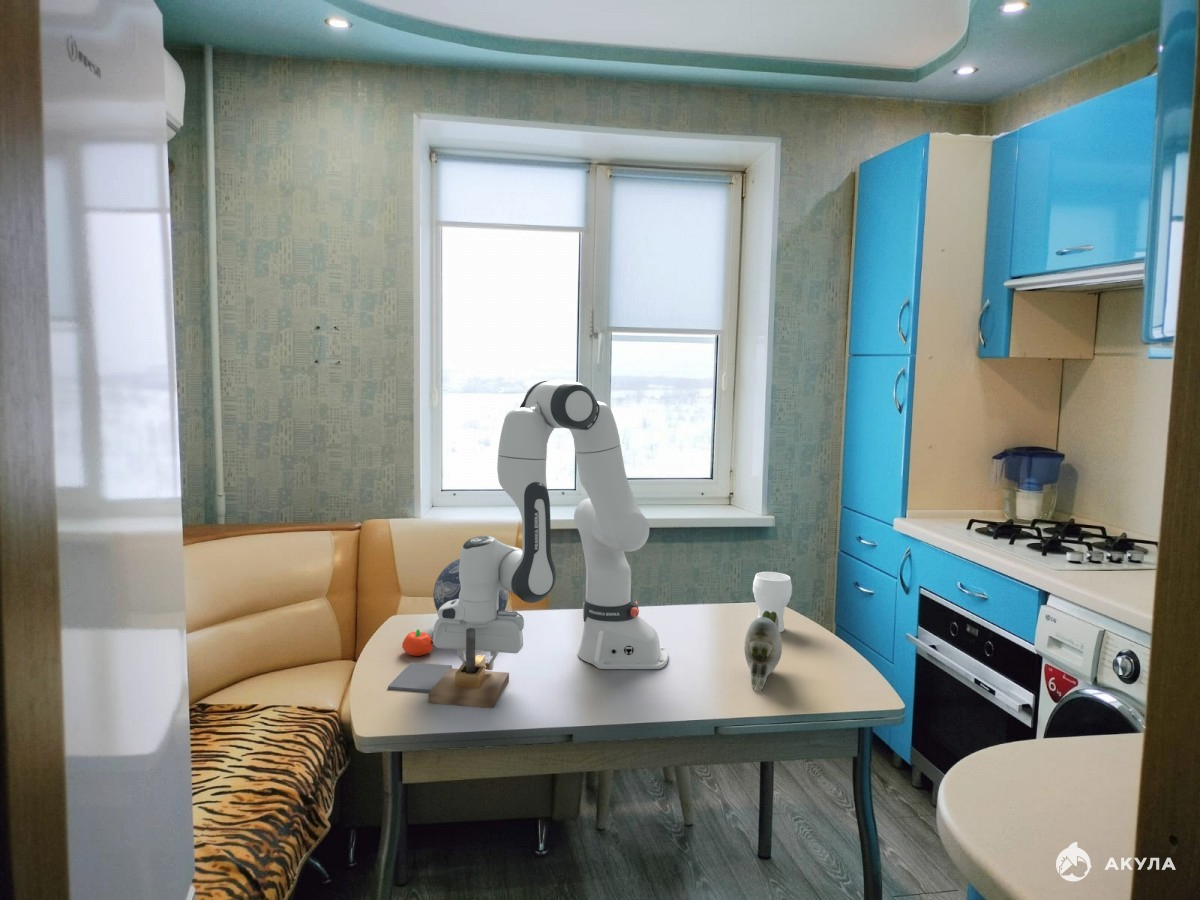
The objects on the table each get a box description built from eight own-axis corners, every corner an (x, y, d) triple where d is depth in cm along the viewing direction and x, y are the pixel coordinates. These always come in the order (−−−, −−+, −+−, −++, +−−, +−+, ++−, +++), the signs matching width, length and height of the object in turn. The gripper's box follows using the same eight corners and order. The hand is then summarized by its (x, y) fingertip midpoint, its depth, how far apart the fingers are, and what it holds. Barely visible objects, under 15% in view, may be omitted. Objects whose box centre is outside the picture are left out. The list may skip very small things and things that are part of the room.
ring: (492, 668, 177) (492, 656, 176) (478, 688, 166) (478, 675, 165) (470, 666, 177) (470, 654, 177) (455, 686, 166) (455, 673, 166)
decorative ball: (516, 621, 216) (517, 551, 214) (496, 646, 196) (497, 569, 194) (448, 615, 219) (448, 546, 217) (421, 640, 199) (422, 564, 197)
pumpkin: (421, 646, 195) (421, 621, 194) (438, 655, 189) (439, 629, 189) (396, 652, 190) (396, 627, 189) (413, 662, 184) (413, 636, 184)
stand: (508, 681, 175) (509, 621, 173) (493, 708, 161) (494, 643, 160) (449, 676, 176) (449, 617, 175) (428, 702, 163) (428, 638, 161)
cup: (793, 635, 211) (796, 582, 209) (754, 634, 211) (757, 580, 209) (784, 622, 221) (787, 571, 219) (747, 621, 221) (750, 570, 220)
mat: (451, 667, 182) (451, 665, 181) (431, 692, 168) (431, 689, 168) (411, 664, 183) (411, 662, 183) (387, 688, 169) (387, 686, 169)
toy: (776, 695, 172) (785, 660, 191) (779, 629, 170) (788, 601, 189) (738, 689, 175) (750, 655, 194) (741, 624, 173) (753, 597, 192)
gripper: (527, 607, 175) (525, 666, 176) (439, 601, 177) (439, 659, 179) (520, 616, 169) (519, 677, 170) (430, 610, 171) (430, 670, 172)
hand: (477, 668), depth 174 cm, fingers open, 4 cm apart
